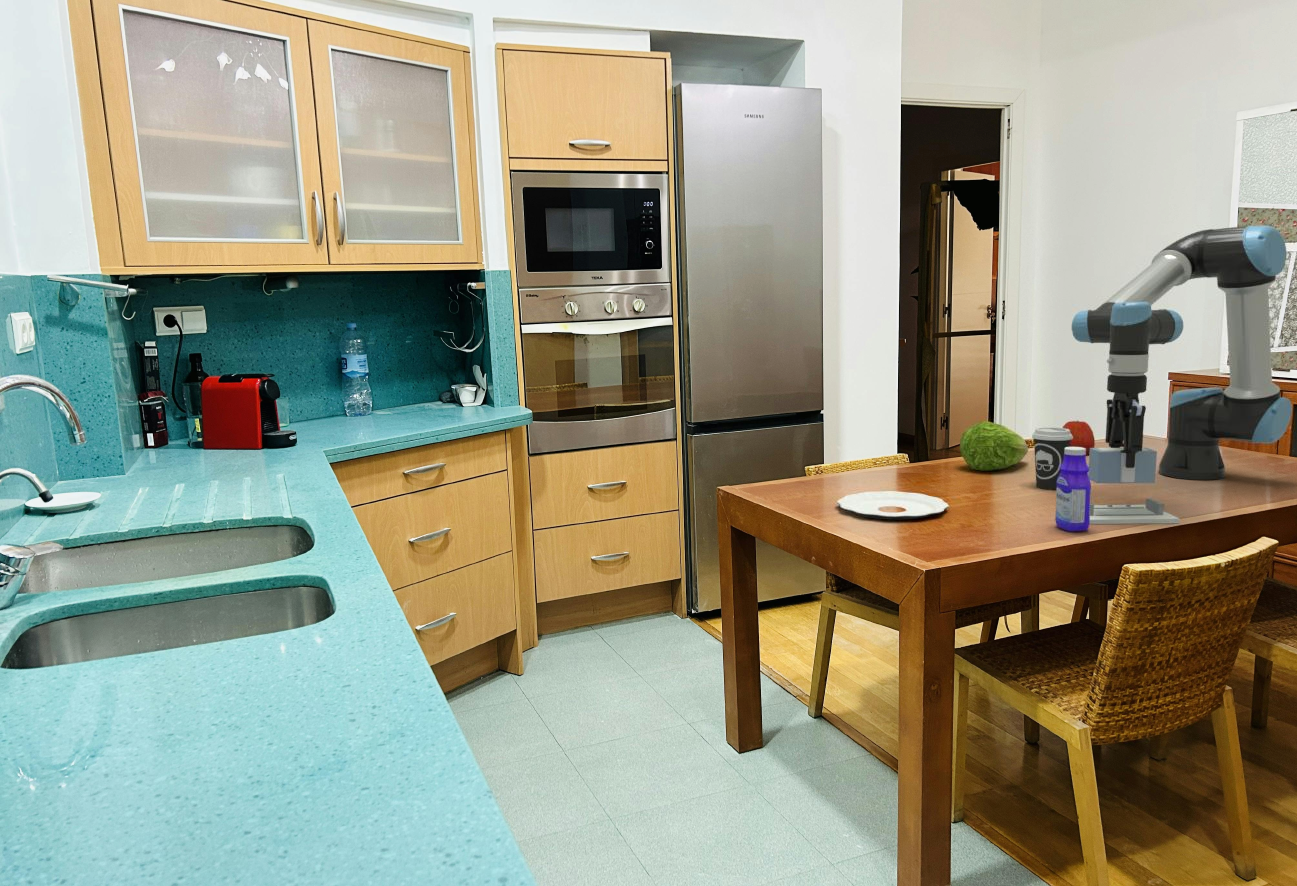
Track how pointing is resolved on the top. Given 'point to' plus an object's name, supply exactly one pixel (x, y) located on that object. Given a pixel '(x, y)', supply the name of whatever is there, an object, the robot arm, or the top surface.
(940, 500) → the plate
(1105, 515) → the wall board
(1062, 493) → the bottle
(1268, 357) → the robot arm
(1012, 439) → the lettuce
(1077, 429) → the apple
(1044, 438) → the coffee cup
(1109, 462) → the frame block
